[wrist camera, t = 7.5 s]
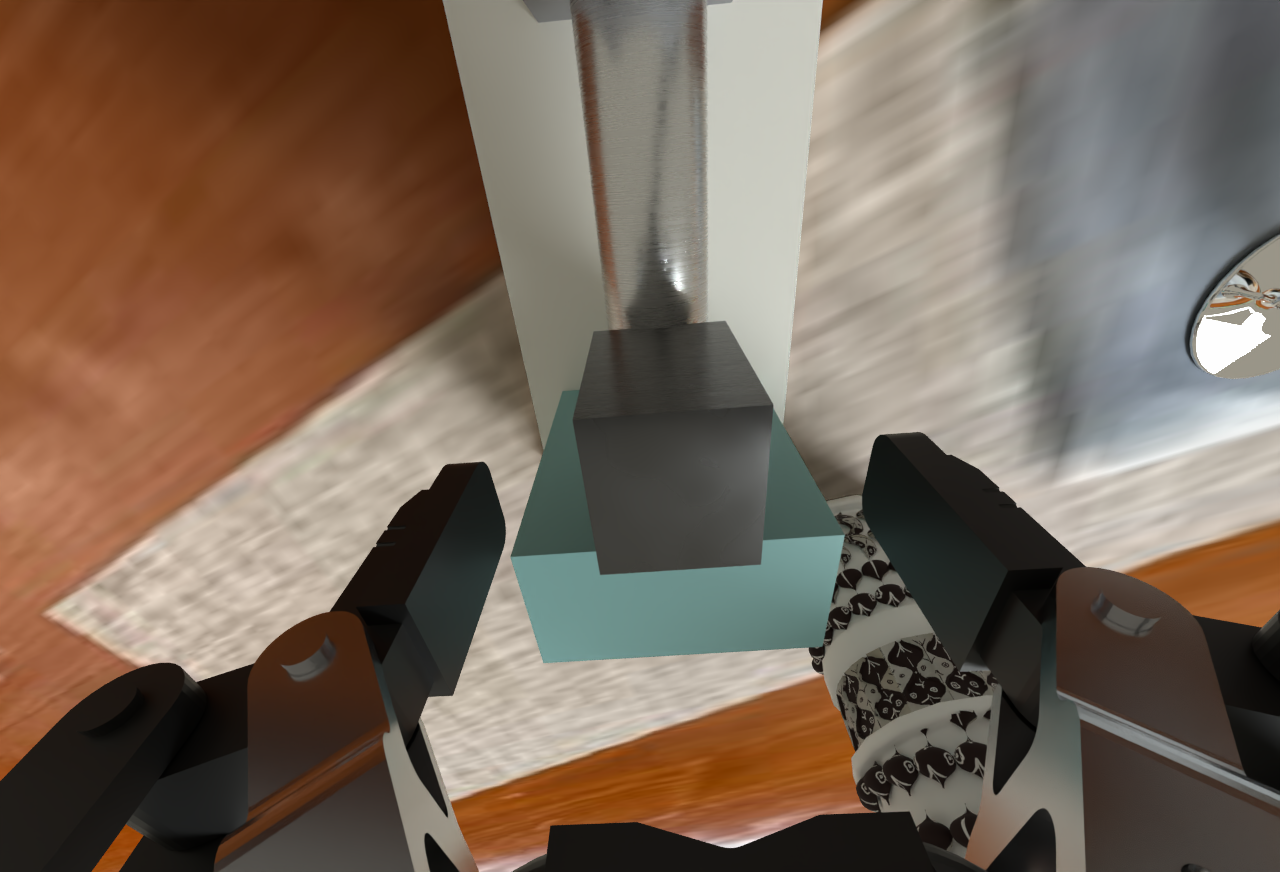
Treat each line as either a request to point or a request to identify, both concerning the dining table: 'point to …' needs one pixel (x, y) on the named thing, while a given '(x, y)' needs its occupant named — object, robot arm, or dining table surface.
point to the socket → (679, 599)
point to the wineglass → (1242, 319)
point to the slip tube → (661, 309)
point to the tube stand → (561, 186)
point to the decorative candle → (902, 695)
